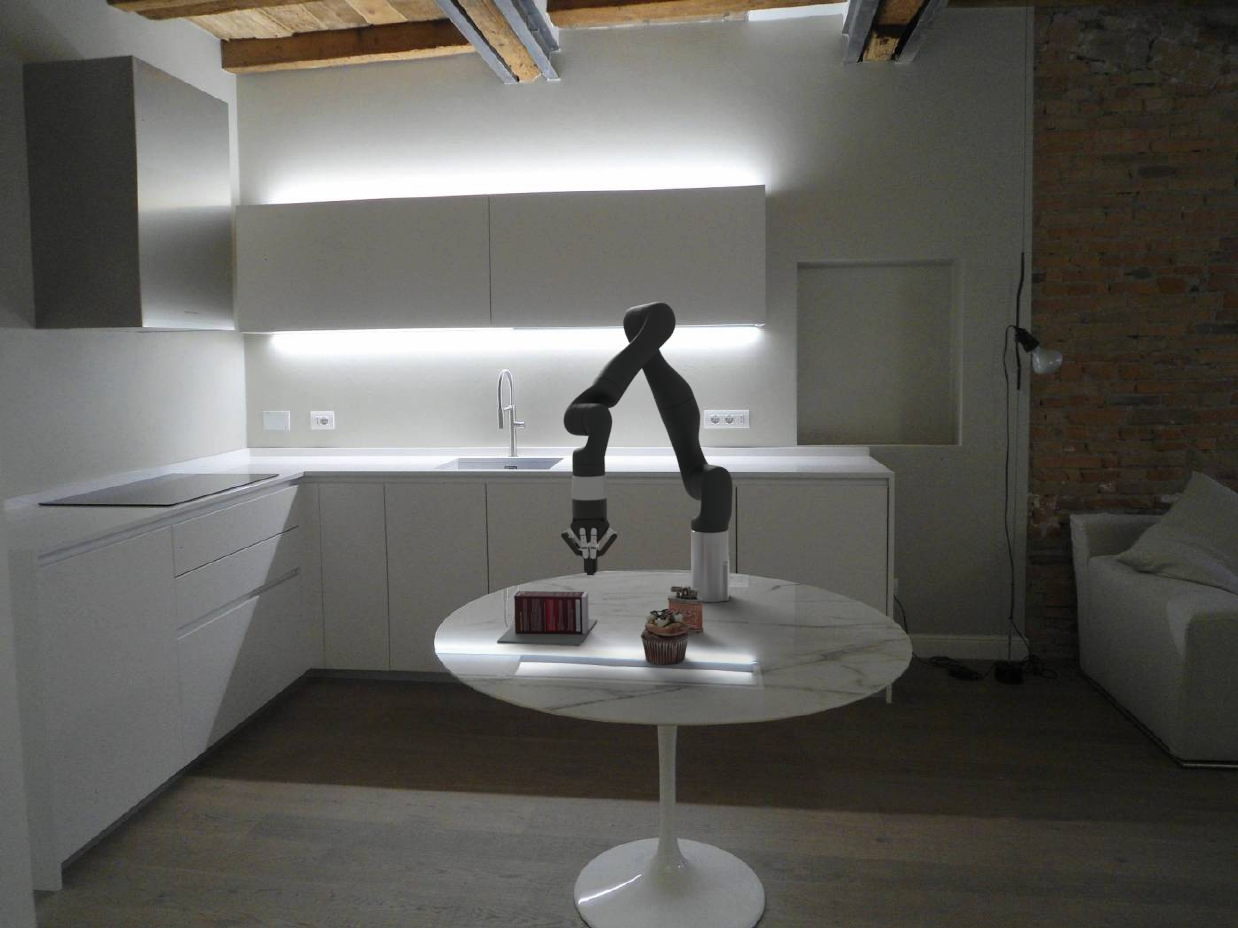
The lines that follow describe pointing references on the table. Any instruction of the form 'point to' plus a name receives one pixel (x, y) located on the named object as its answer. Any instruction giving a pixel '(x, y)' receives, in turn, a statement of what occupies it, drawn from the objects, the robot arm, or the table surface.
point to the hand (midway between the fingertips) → (590, 574)
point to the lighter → (687, 607)
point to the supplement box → (551, 612)
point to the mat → (544, 637)
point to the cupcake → (665, 638)
